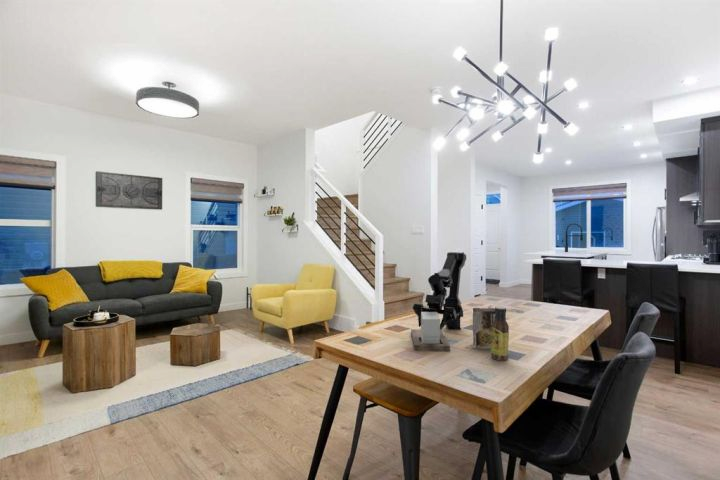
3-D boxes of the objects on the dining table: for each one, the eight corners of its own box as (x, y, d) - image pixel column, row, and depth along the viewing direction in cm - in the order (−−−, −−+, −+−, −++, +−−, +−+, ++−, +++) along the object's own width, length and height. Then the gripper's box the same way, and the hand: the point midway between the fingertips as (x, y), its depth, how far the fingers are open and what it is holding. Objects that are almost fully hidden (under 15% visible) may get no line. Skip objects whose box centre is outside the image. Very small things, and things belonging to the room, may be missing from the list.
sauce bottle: (488, 355, 141) (488, 305, 141) (503, 355, 142) (503, 305, 141) (495, 361, 135) (496, 309, 134) (511, 361, 136) (512, 308, 135)
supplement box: (437, 337, 158) (438, 311, 155) (439, 346, 151) (440, 319, 148) (420, 337, 159) (420, 311, 156) (422, 346, 151) (422, 318, 149)
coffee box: (493, 344, 155) (494, 307, 155) (498, 349, 149) (498, 311, 149) (472, 344, 156) (472, 307, 156) (475, 348, 150) (475, 310, 149)
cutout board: (441, 334, 171) (441, 330, 171) (449, 351, 147) (449, 346, 147) (411, 333, 172) (411, 329, 172) (414, 350, 148) (414, 345, 148)
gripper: (414, 285, 162) (403, 314, 153) (454, 289, 152) (446, 320, 143) (420, 299, 169) (411, 328, 160) (460, 304, 159) (452, 335, 150)
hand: (429, 327), depth 153 cm, fingers closed on supplement box, 9 cm apart
